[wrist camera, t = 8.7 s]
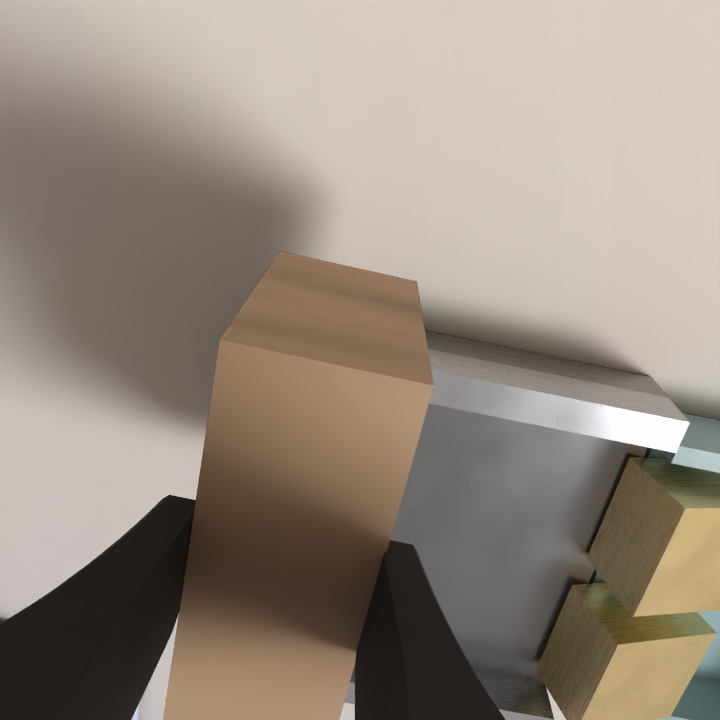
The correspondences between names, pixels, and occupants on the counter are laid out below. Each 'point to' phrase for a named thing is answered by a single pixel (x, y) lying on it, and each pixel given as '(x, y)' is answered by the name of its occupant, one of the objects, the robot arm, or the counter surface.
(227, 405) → the tan rectangular block
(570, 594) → the brass chip
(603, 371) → the slot plate
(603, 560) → the brass chip
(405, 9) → the counter surface
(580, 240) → the counter surface
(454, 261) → the counter surface
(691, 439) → the tray
